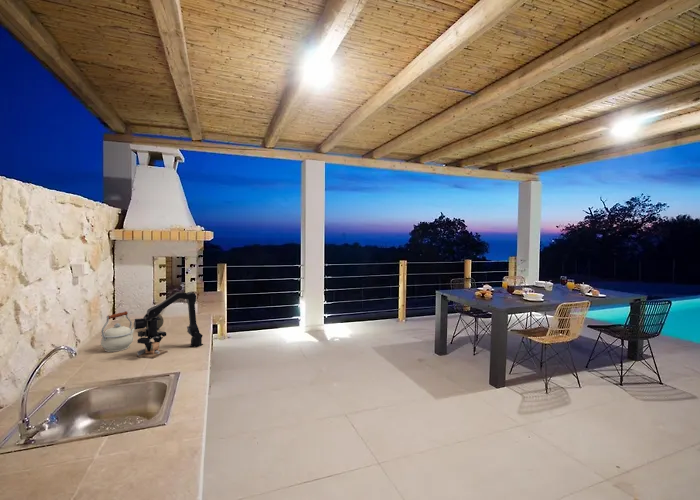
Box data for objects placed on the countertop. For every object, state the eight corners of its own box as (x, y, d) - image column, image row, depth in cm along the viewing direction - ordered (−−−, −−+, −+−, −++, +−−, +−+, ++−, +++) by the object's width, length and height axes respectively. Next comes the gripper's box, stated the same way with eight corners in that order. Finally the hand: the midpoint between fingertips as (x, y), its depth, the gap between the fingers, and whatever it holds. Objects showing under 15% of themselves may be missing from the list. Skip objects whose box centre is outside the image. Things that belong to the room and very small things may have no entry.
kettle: (113, 355, 209) (113, 317, 209) (91, 352, 213) (91, 315, 212) (145, 343, 234) (145, 310, 233) (124, 341, 237) (124, 308, 237)
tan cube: (159, 351, 215) (159, 342, 214) (152, 353, 210) (153, 344, 209) (151, 350, 216) (151, 341, 216) (145, 353, 211) (145, 344, 211)
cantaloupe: (145, 329, 269) (145, 311, 269) (164, 327, 275) (164, 310, 275) (142, 333, 256) (142, 315, 256) (162, 332, 262) (162, 314, 262)
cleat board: (167, 352, 218) (167, 347, 218) (153, 358, 205) (153, 353, 205) (152, 350, 220) (152, 345, 220) (137, 356, 208) (137, 351, 208)
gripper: (153, 322, 223) (153, 344, 223) (130, 329, 205) (130, 353, 205) (167, 323, 221) (166, 345, 221) (144, 331, 202) (144, 355, 203)
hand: (152, 349), depth 213 cm, fingers closed on tan cube, 5 cm apart
